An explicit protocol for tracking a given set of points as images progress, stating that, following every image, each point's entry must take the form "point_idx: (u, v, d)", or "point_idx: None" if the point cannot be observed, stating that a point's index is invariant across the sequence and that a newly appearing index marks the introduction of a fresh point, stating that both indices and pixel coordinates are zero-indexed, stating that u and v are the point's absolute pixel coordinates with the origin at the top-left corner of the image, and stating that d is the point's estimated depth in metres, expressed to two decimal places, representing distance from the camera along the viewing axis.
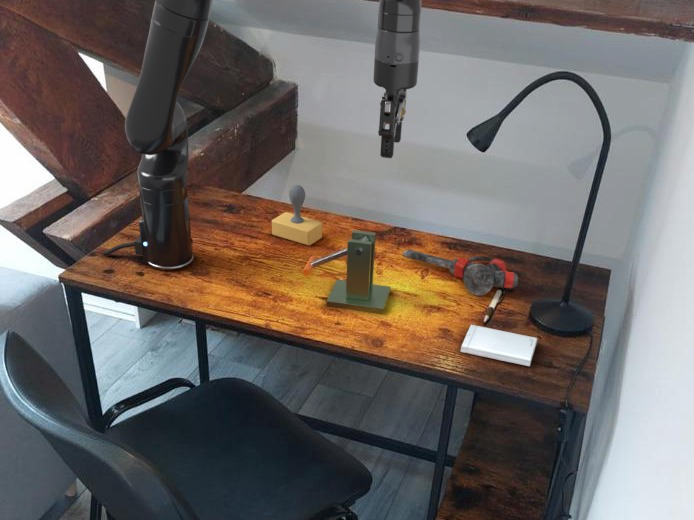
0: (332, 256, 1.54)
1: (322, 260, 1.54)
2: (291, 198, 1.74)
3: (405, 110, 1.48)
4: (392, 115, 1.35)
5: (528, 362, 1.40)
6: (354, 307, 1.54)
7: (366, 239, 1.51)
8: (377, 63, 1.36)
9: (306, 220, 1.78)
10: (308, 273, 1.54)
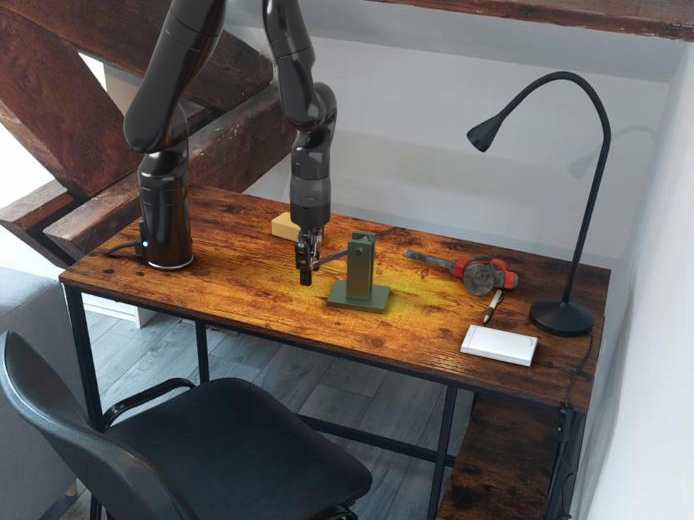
0: (332, 256, 1.54)
1: (322, 260, 1.54)
2: None
3: (323, 242, 1.59)
4: (306, 255, 1.48)
5: (528, 362, 1.40)
6: (354, 307, 1.54)
7: (366, 239, 1.51)
8: (292, 204, 1.47)
9: None
10: None
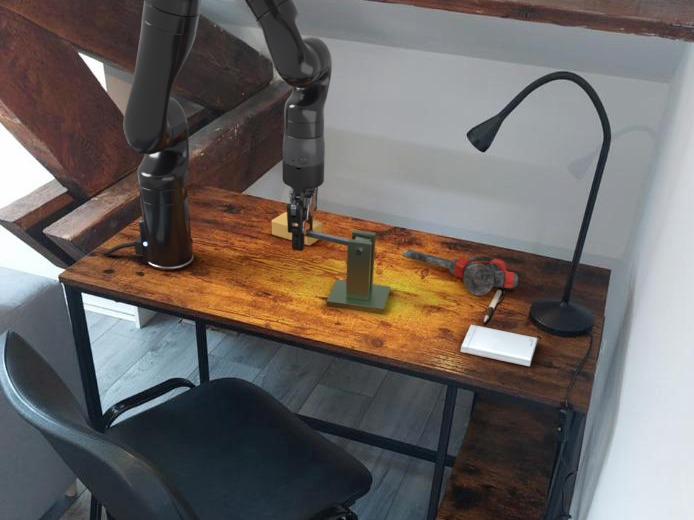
0: (329, 238, 1.52)
1: (318, 235, 1.52)
2: None
3: (316, 206, 1.55)
4: (298, 217, 1.44)
5: (528, 362, 1.40)
6: (354, 307, 1.54)
7: None
8: (284, 164, 1.43)
9: None
10: None
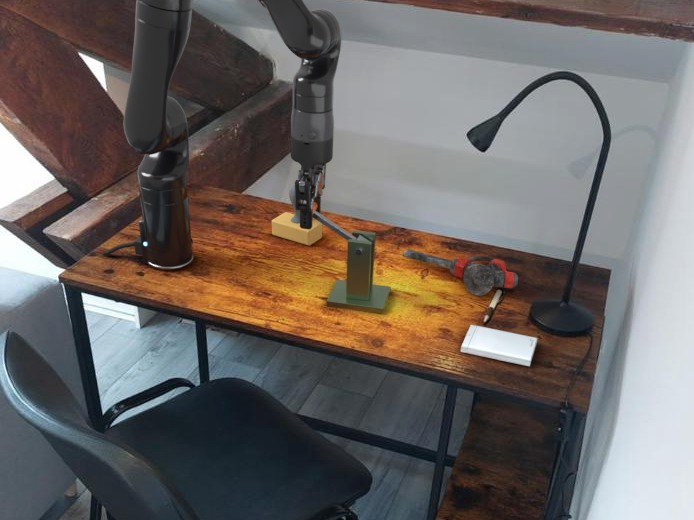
0: (334, 227, 1.50)
1: (324, 220, 1.50)
2: (291, 198, 1.74)
3: (324, 185, 1.52)
4: (307, 194, 1.41)
5: (528, 362, 1.40)
6: (354, 307, 1.54)
7: None
8: (292, 140, 1.41)
9: None
10: None
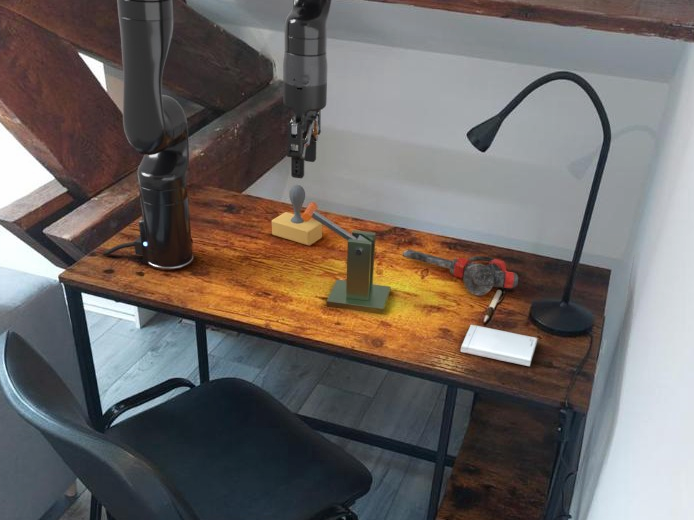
0: (334, 227, 1.50)
1: (324, 220, 1.50)
2: (291, 198, 1.74)
3: (320, 130, 1.49)
4: (299, 137, 1.37)
5: (528, 362, 1.40)
6: (354, 307, 1.54)
7: None
8: (285, 85, 1.37)
9: None
10: (306, 219, 1.48)
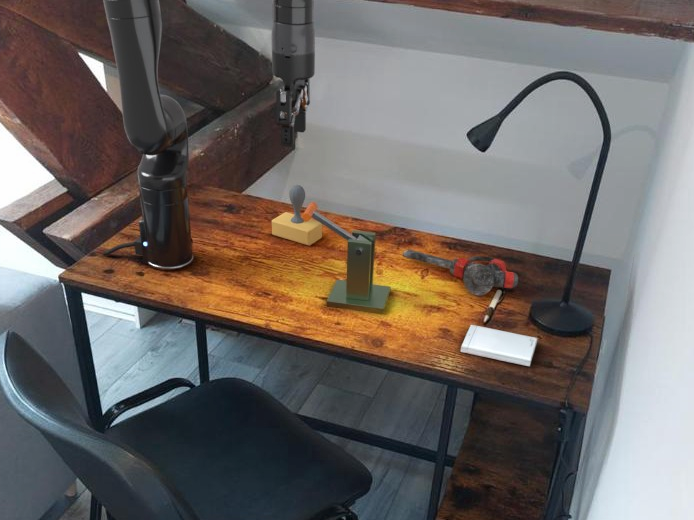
0: (334, 227, 1.50)
1: (324, 220, 1.50)
2: (291, 198, 1.74)
3: (309, 101, 1.52)
4: (288, 105, 1.40)
5: (528, 362, 1.40)
6: (354, 307, 1.54)
7: None
8: (273, 54, 1.40)
9: None
10: (306, 219, 1.48)
